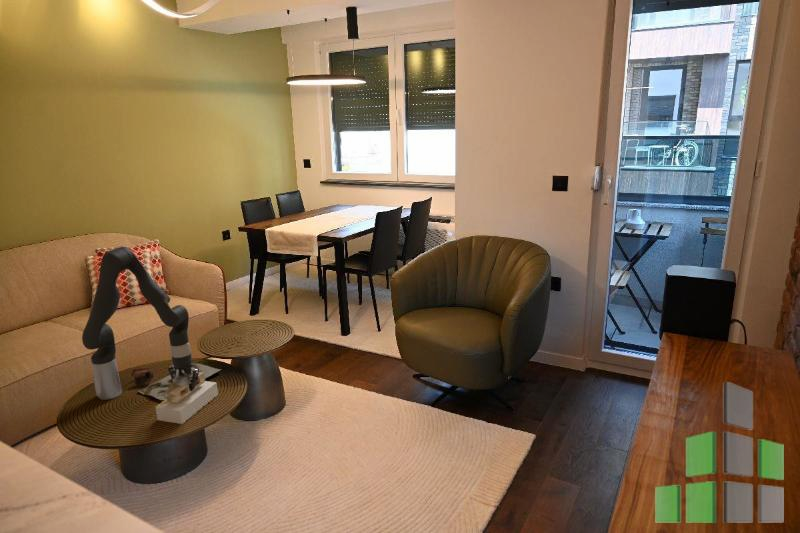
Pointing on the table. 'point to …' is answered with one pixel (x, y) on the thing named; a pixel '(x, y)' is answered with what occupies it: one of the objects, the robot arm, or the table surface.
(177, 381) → the grey block
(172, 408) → the white rectangular box
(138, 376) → the pottery mug
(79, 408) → the table surface
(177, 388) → the tan long block
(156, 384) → the stone relief
